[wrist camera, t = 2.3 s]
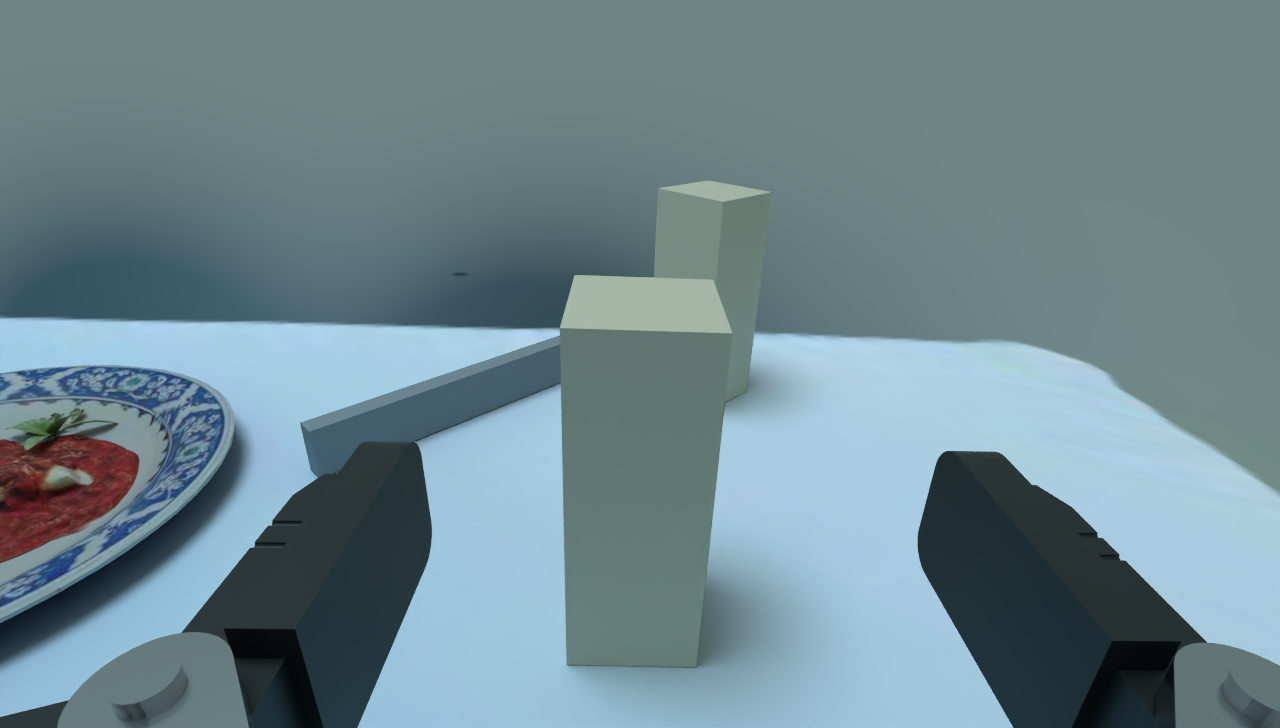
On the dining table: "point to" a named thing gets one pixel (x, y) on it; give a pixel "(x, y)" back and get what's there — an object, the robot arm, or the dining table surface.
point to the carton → (639, 464)
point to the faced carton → (717, 254)
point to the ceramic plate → (96, 468)
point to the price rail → (431, 404)
